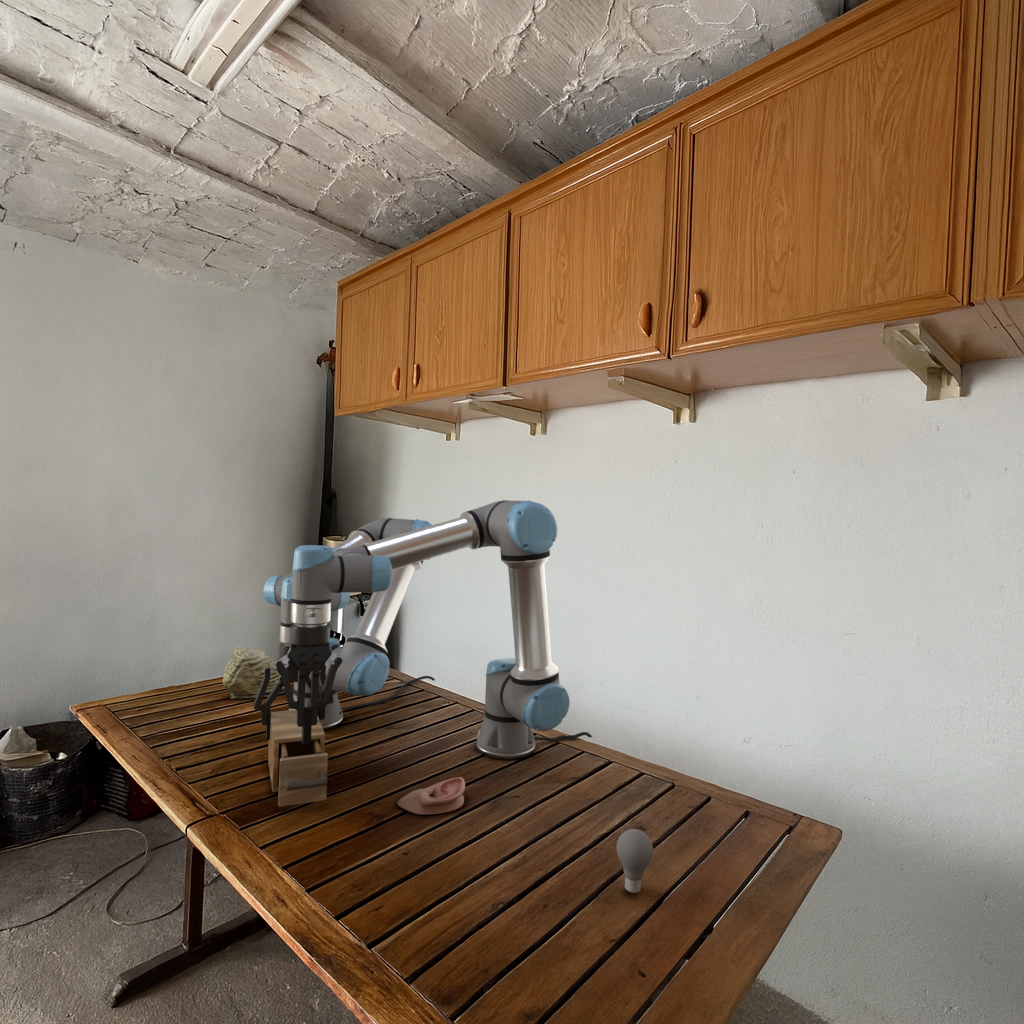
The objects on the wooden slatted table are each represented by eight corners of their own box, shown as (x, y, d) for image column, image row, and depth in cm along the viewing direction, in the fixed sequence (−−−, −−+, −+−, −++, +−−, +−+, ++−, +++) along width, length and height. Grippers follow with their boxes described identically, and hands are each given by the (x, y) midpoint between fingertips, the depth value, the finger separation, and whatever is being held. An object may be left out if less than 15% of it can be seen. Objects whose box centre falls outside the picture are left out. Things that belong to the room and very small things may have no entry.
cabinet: (323, 785, 139) (325, 734, 139) (272, 792, 135) (274, 739, 134) (313, 753, 156) (314, 707, 155) (267, 759, 151) (269, 712, 151)
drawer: (330, 813, 125) (332, 766, 125) (280, 821, 121) (282, 772, 121) (316, 766, 146) (317, 726, 146) (273, 772, 142) (274, 730, 142)
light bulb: (610, 879, 108) (613, 822, 108) (644, 879, 109) (647, 822, 109) (619, 902, 102) (622, 840, 102) (655, 901, 103) (658, 840, 103)
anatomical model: (392, 791, 129) (412, 768, 140) (391, 810, 129) (411, 786, 140) (454, 800, 126) (470, 776, 137) (454, 820, 126) (469, 794, 137)
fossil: (218, 695, 195) (220, 647, 195) (278, 685, 208) (279, 640, 207) (228, 703, 189) (230, 653, 188) (289, 692, 201) (290, 645, 201)
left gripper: (244, 649, 142) (240, 747, 142) (348, 643, 151) (345, 735, 151) (243, 641, 149) (240, 735, 149) (343, 637, 158) (340, 725, 158)
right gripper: (276, 628, 119) (272, 752, 120) (347, 626, 125) (342, 744, 125) (274, 621, 126) (270, 738, 127) (341, 618, 131) (336, 731, 132)
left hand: (293, 735), depth 150 cm, fingers closed on cabinet, 10 cm apart
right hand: (306, 741), depth 126 cm, fingers closed
